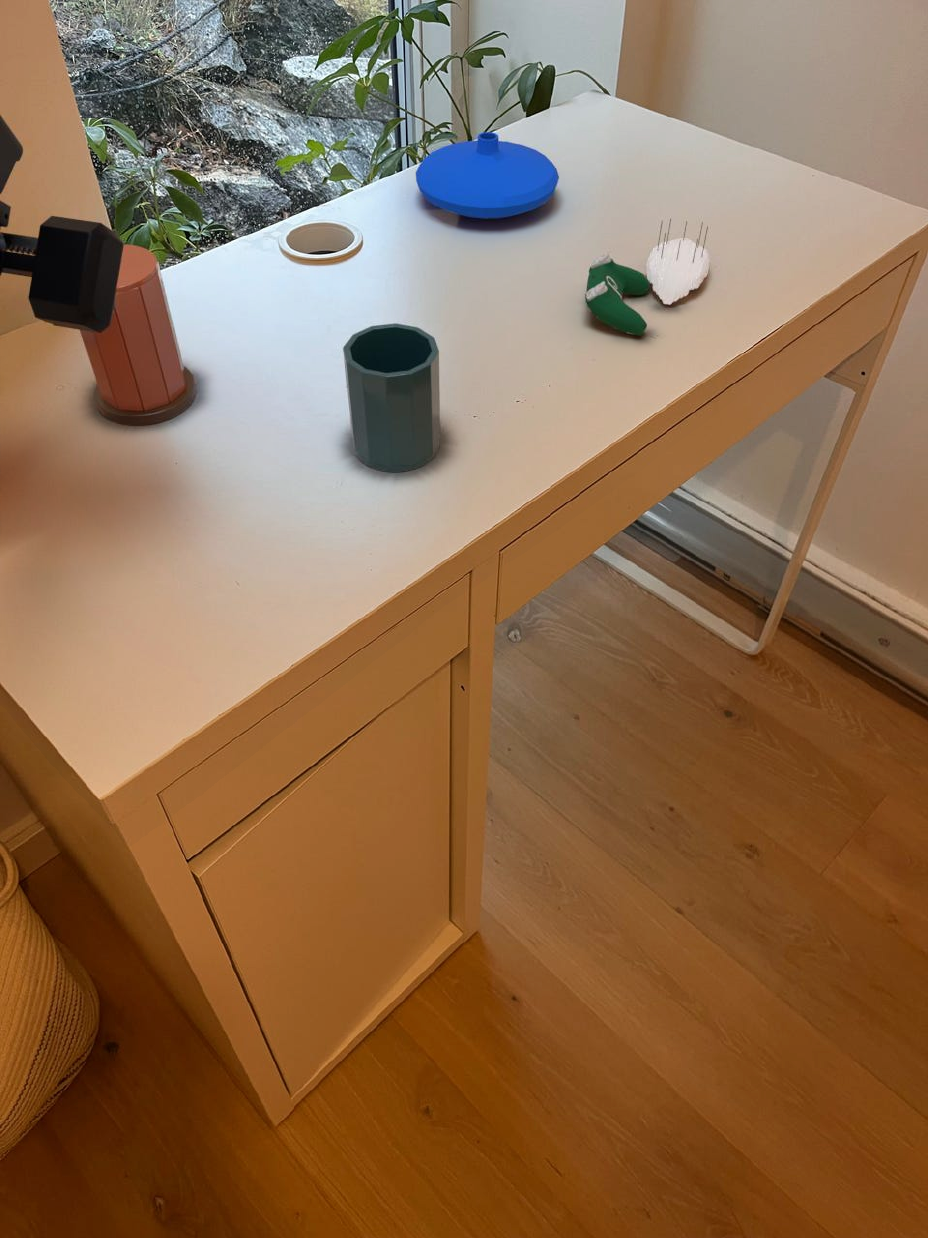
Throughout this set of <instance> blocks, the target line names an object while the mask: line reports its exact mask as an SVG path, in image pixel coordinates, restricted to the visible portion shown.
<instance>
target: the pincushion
mask: <svg viewBox="0 0 928 1238" xmlns="http://www.w3.org/2000/svg"><path fill="white" fill-rule="evenodd" d="M671 221H672V218H670V219H669V226H668V231H667V232H665V235H664V239H663V242H661V243H660V241H661V236H658V243H657V245H656V246H654V247H653V249H652V251H651V252H650V253H649V255H648V258H647V260H646V264H645V269H646V271H645V272H646V273H645V274H646V278H647V279H648V281H649V283H650V284H652V290H653V292H655V293H656V295H657V296H658V297H659V299H660V300H662V303H663V305H669V306H670V305H672V303H674V302H677V301H678V300H679V299H682V298H683V297H687V296H688V295H689V293H690V291H691V290H692V291H694V290H697V289H698V288H699V287H700V285H701V284H702V283H703V282H704V278H707V276H708V273H709V270H710V266H711V258H710V254H709V251H708V250H707V248H705V243H706V239H707V235H708V230H709V229H708V228H709V226H706V231H705V236H704V240H703V246H702V245H700V239H701V233H702V229H703V224H704V223H703V221H702V222H701V226H700V230H699V237H698V238H697V239H696V242H694V240H692V239H690V238H687V237H686V238H685V236H686V230H687V224H688V221H687V220H686V222H685V228H684V232H683V237H678V238H675V239H670V240H668V239H669V233H670V228H671ZM660 224H661V225H660V232H659V235H661V233H662V229H663V220H661V223H660ZM666 236H667V237H666Z"/></svg>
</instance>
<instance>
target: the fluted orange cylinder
mask: <svg viewBox="0 0 928 1238" xmlns="http://www.w3.org/2000/svg"><path fill="white" fill-rule="evenodd" d="M175 329H176V328H175V325H174V321H173V317H172V312H171V308H170V304H169V300H168V296H167V292H166V288H165V284H164V279H163V275H162V271H161V268H160V263H159V260H158V258H157V257H156V256H155V254H154V253H153V252H152V251H150V250H149V249H147V248H145V247H143V246H138V245H135V244H124V247H123V253H122V258H121V264H120V270H119V276H118V282H117V288H116V294H115V307H114V313H113V315H112V317H111V323H110V326H109V327H108V328H107V329H105V330H104V331H103V332H102V333H96V332H90V331H84V330H79V332H80V335H81V339H82V341H83V344H84V347H85V350H86V352H87V353H86V354H87V357H88V360H89V363H90V366H91V369H92V372H93V375H94V378H95V382H96V385H98V388H99V391H100V394H101V397H102V399H103V400H105V401H106V402H107V403H109V404H110V405H112V406H113V407H115V408H116V409H119V410H131V411H144V410H145V411H147V410H150V409H154V408H157V407H160V406H164V405H167V404H169V402H170V403H171V402H172V401H174V400H175V399H176V398H177V397H178V396H179V395H180V394H181V393H182V392H183V391H184V390H185V389H186V374H185V370H184V367H185V365H184V362H183V357H182V354H181V349H180V347H179V342H178V338H177V337H178V336H177V333H176V330H175Z"/></svg>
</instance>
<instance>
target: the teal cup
mask: <svg viewBox="0 0 928 1238" xmlns="http://www.w3.org/2000/svg"><path fill="white" fill-rule="evenodd" d="M342 351H343V361H344V371H345V372H344V373H345V381H346V392H347V402H348V414H349V422H350V431H351V440H352V444H353V451H354V454H355V456H356V457H357V459H358V460H359V461H360V462H361V463H362V464H364V465H365V466H367V467H369V468H372V469H374V470H377V471H380V472H381V471H382V472H387V473H403V472H409V471H413V470H416V469H418V468H421V467H423V466H424V465H426V464H428V463H429V462H430V461H432V460H433V459H434V458H435V457H436V455H437V453H438V451H439V448H440V442H441V405H440V403H441V401H440V400H441V399H440V398H441V397H440V395H441V394H440V393H441V391H440V350H439V347H438V344H437V341H436V339H435V337H434V336H433V335H431V334H429V333H428V332H427V331H425V330H423V329H422V328H420V327H418V326H413V325H407V324H403V323H395V322H394V323H386V324H378V325H370V326H369V327H366V328H364V329H362V330H360V331H357V332H355V333H353V334H352V335H351V336H350V338H349V339H348V340H347V342H346V343H345V345H344V346H343V347H342Z"/></svg>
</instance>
